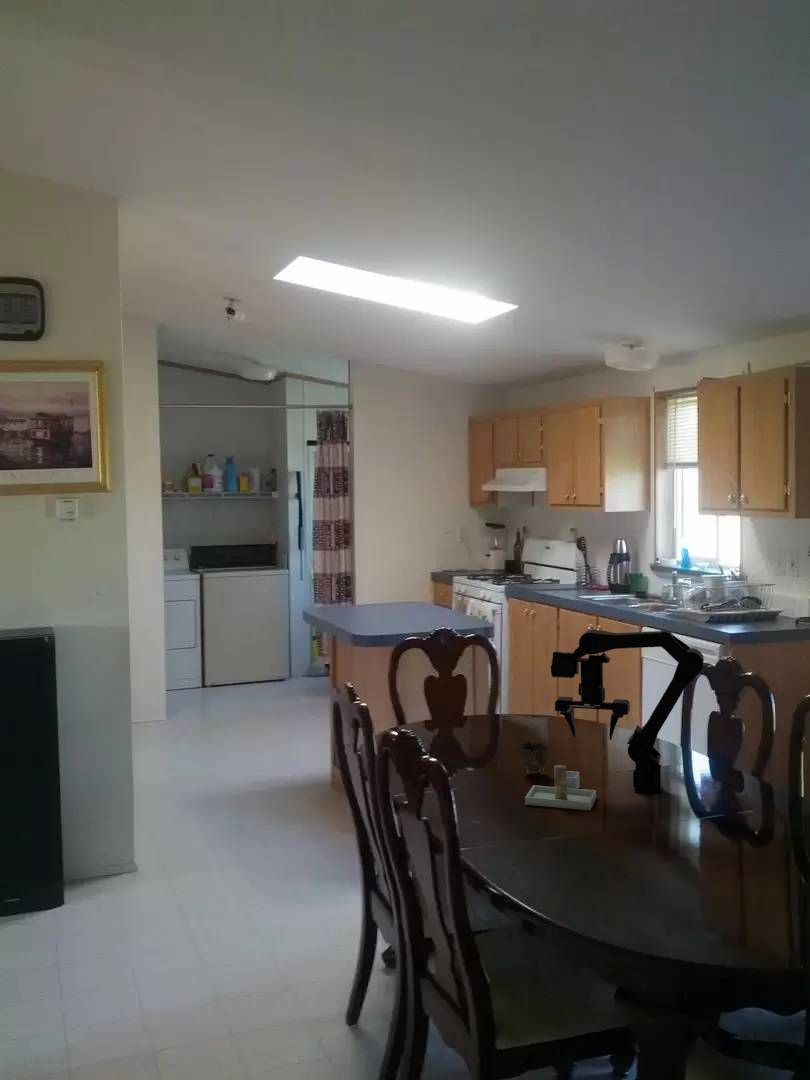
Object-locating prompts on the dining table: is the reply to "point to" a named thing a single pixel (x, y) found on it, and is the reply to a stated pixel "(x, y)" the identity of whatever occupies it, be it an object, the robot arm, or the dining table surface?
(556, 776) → the dowel
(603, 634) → the robot arm
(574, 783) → the grey square sleeve
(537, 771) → the cup
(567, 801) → the tray
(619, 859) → the dining table surface
